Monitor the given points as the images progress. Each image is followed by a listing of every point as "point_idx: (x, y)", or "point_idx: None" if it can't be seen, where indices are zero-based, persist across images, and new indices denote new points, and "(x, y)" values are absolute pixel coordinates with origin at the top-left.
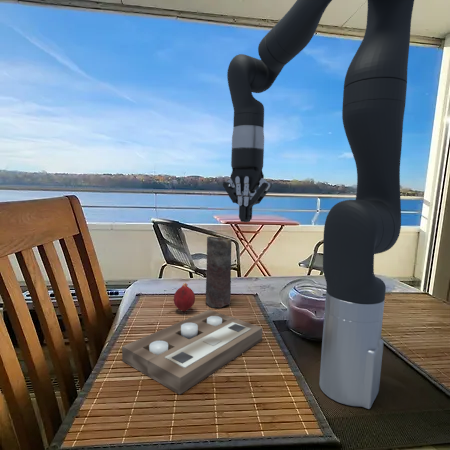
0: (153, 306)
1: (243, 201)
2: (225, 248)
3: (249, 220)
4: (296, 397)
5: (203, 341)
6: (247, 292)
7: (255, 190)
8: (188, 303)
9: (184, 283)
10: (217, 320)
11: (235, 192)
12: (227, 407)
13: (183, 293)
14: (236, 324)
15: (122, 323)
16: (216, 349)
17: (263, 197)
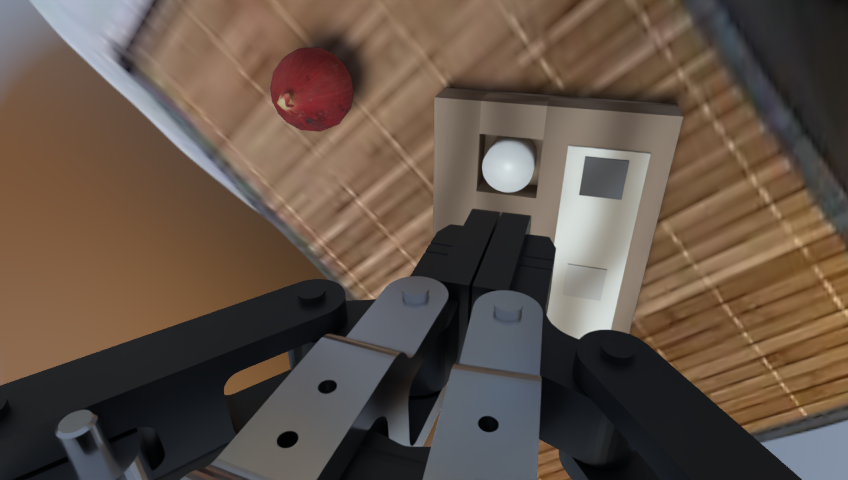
0: (241, 109)
1: (433, 384)
2: None
3: (529, 227)
4: None
5: (565, 295)
6: None
7: (535, 460)
8: (349, 106)
9: (281, 104)
10: (522, 173)
11: (222, 397)
12: (711, 384)
13: (317, 122)
14: (590, 159)
15: (293, 241)
16: (615, 306)
17: (733, 423)
